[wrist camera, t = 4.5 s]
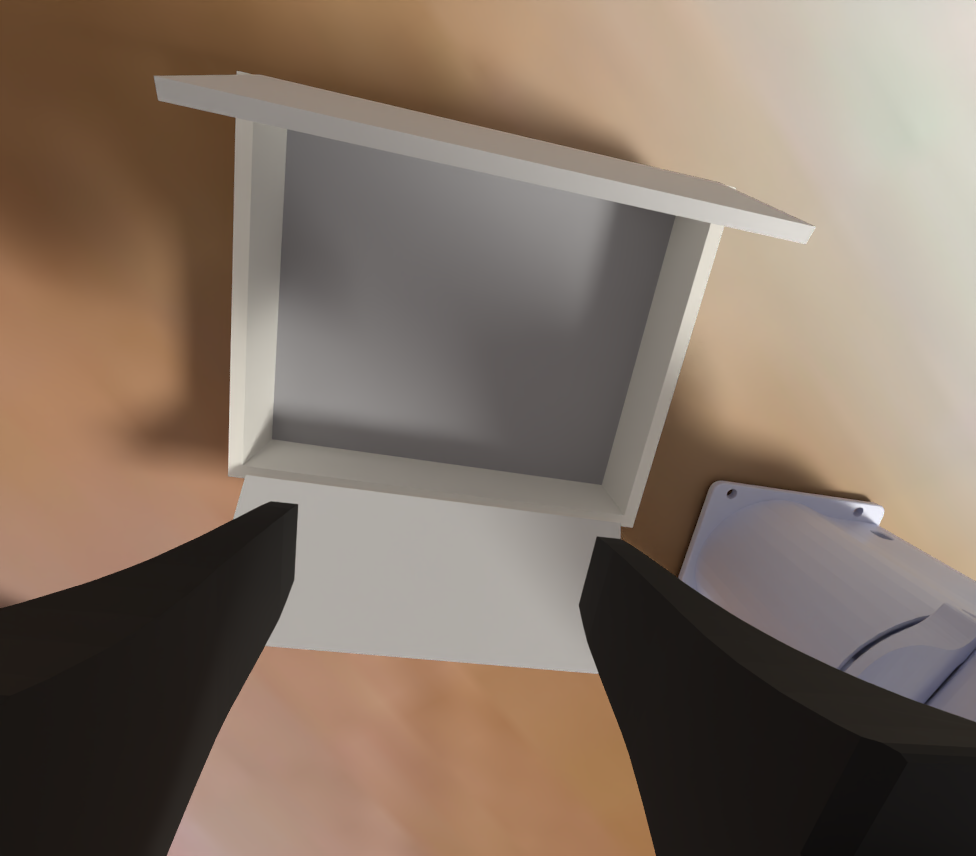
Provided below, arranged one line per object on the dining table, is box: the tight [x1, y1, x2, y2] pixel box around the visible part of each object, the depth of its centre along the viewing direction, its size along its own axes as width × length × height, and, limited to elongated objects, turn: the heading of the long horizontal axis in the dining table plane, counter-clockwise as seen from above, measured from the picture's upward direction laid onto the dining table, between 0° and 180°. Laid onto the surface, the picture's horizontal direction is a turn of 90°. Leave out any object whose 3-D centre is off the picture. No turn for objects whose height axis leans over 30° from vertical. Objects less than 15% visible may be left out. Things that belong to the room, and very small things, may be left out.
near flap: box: [154, 75, 816, 244], centre depth 12 cm, size 6×14×1 cm
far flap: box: [233, 475, 621, 674], centre depth 17 cm, size 6×14×1 cm
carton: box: [228, 71, 736, 528], centre depth 18 cm, size 16×13×4 cm
